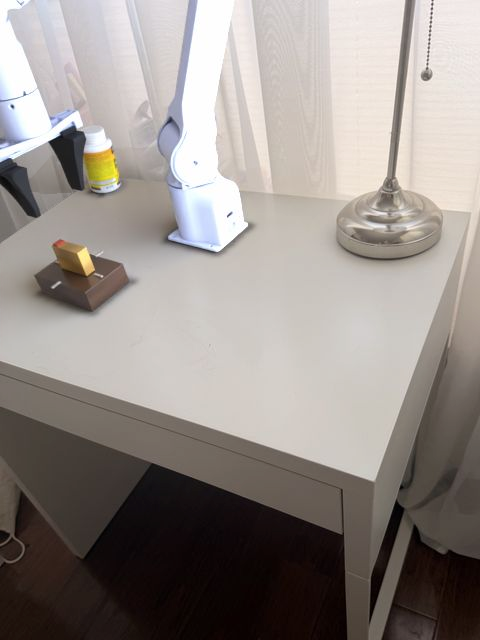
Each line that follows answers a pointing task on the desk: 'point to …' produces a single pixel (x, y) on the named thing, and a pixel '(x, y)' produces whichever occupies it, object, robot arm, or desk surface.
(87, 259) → the thumbturn
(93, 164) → the supplement bottle
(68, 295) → the plate
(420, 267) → the desk surface
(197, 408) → the desk surface
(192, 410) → the desk surface
